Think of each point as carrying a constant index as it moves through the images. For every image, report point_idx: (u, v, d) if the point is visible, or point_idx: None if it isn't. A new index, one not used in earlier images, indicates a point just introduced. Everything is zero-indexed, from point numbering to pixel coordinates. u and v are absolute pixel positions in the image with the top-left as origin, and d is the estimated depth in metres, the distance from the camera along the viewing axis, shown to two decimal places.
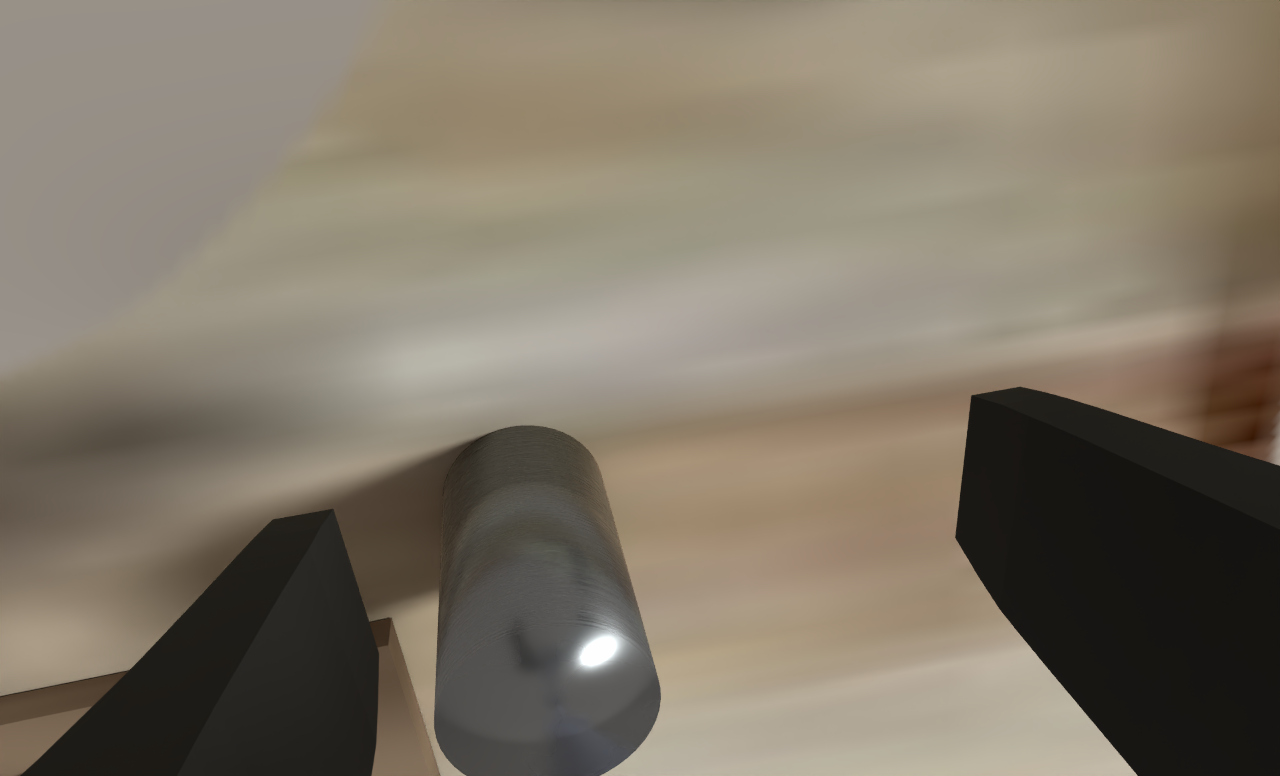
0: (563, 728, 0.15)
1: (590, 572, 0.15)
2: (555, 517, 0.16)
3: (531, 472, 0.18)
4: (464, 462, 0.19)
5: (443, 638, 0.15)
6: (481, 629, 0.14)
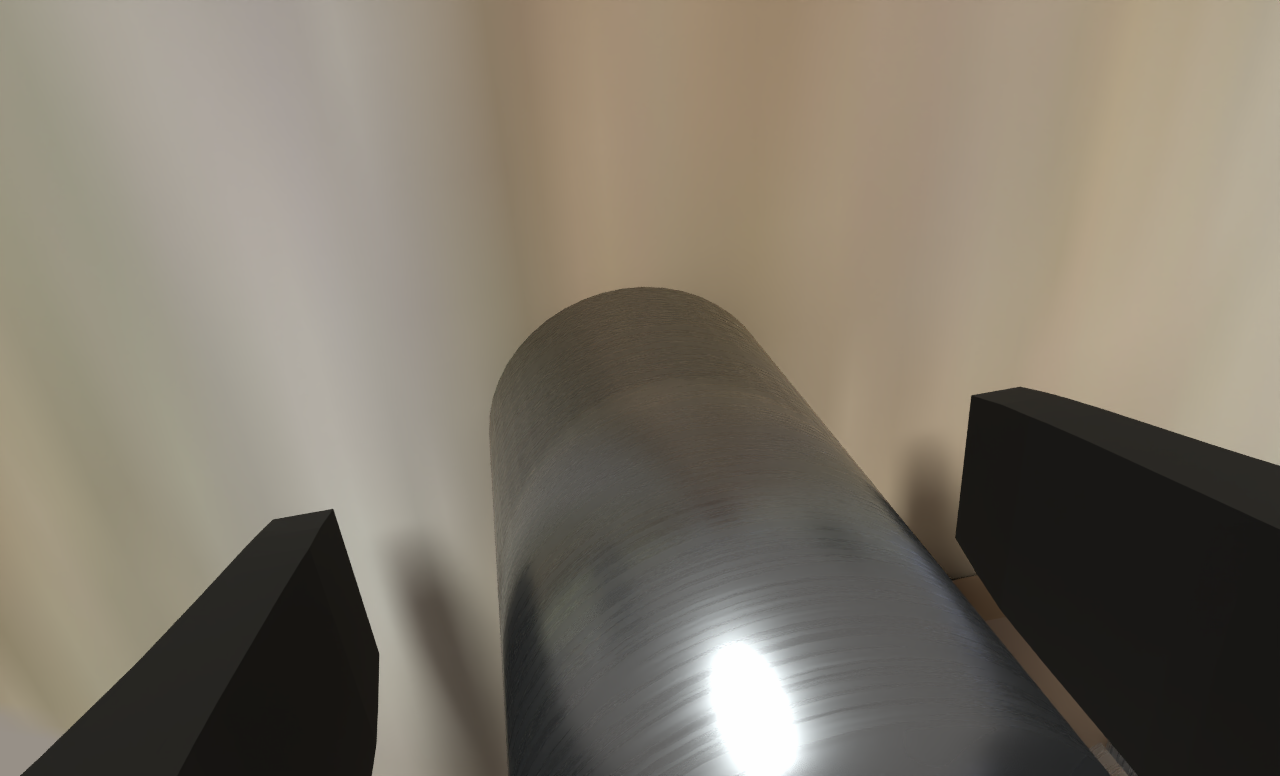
0: None
1: (536, 693, 0.06)
2: (504, 601, 0.07)
3: (495, 522, 0.09)
4: None
5: None
6: None
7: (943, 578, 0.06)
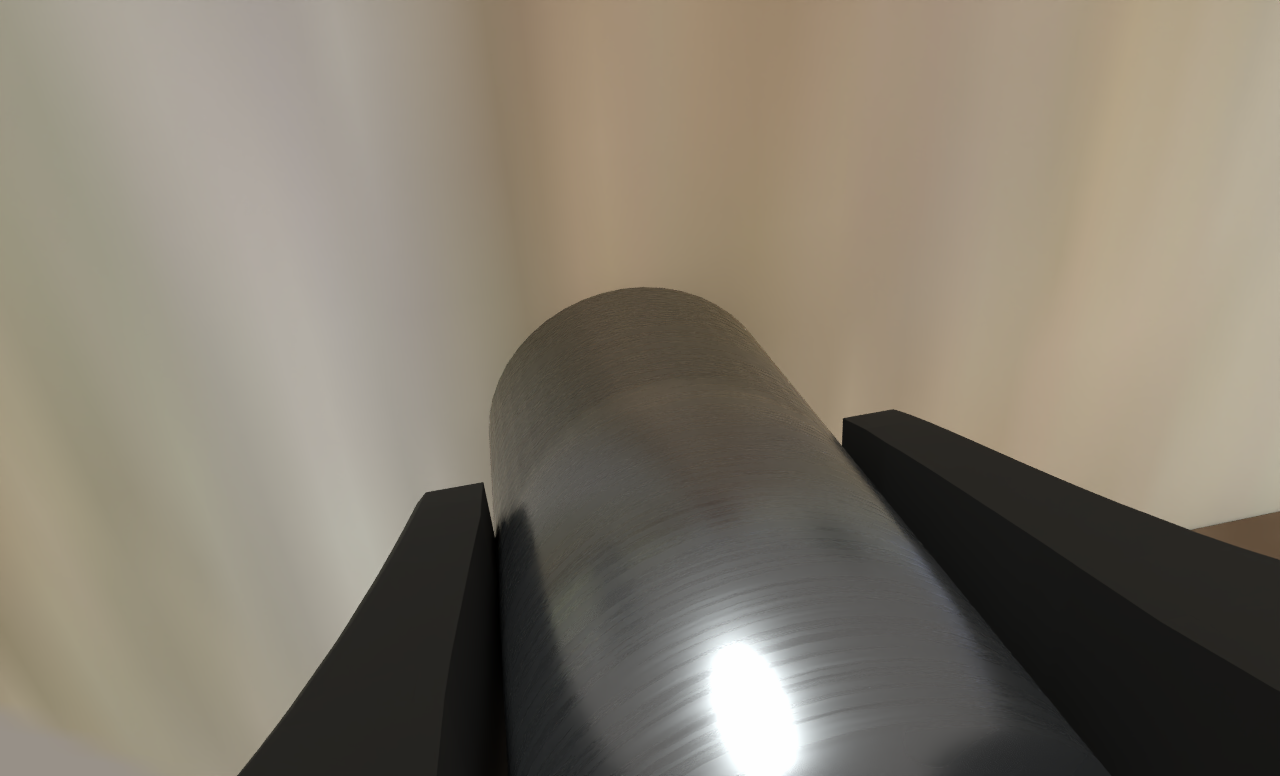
0: None
1: (536, 693, 0.06)
2: (504, 601, 0.07)
3: (494, 522, 0.09)
4: None
5: None
6: None
7: (943, 578, 0.06)
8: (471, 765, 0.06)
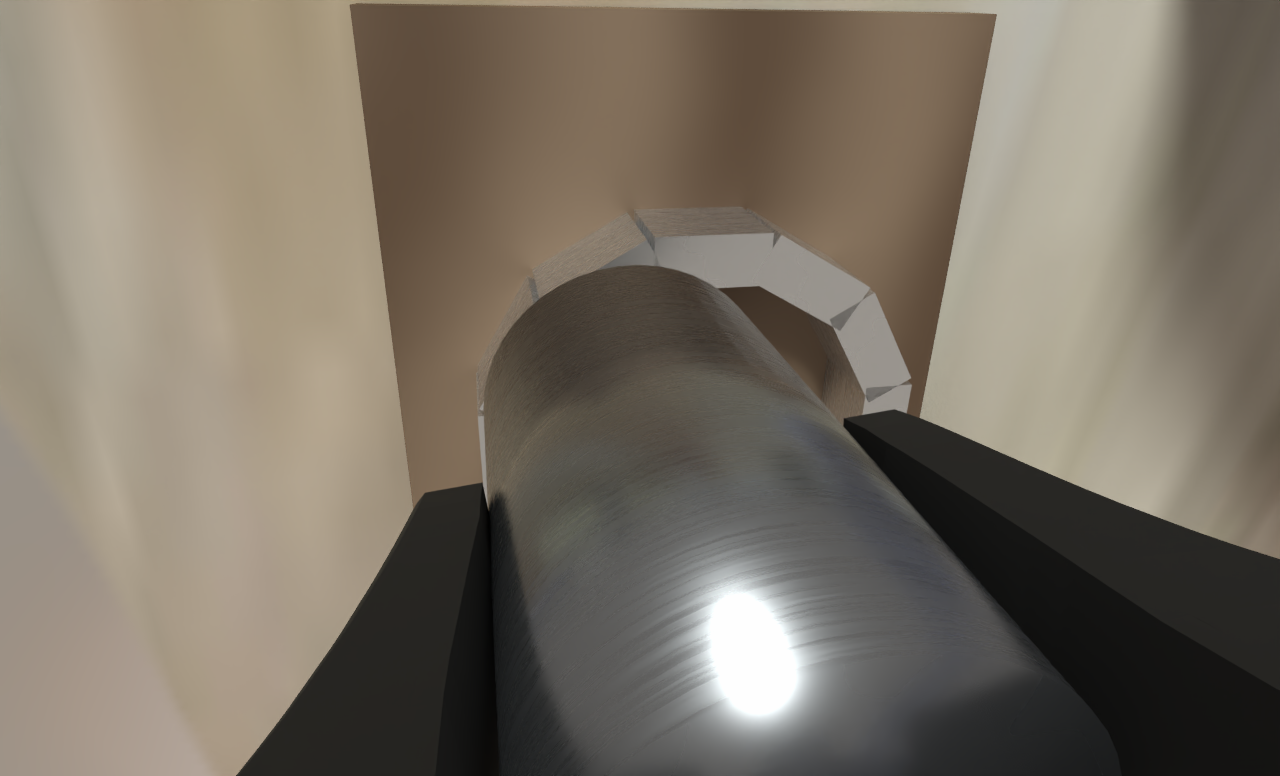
0: None
1: (511, 666, 0.06)
2: (492, 584, 0.07)
3: None
4: None
5: None
6: None
7: (908, 517, 0.06)
8: (470, 766, 0.06)
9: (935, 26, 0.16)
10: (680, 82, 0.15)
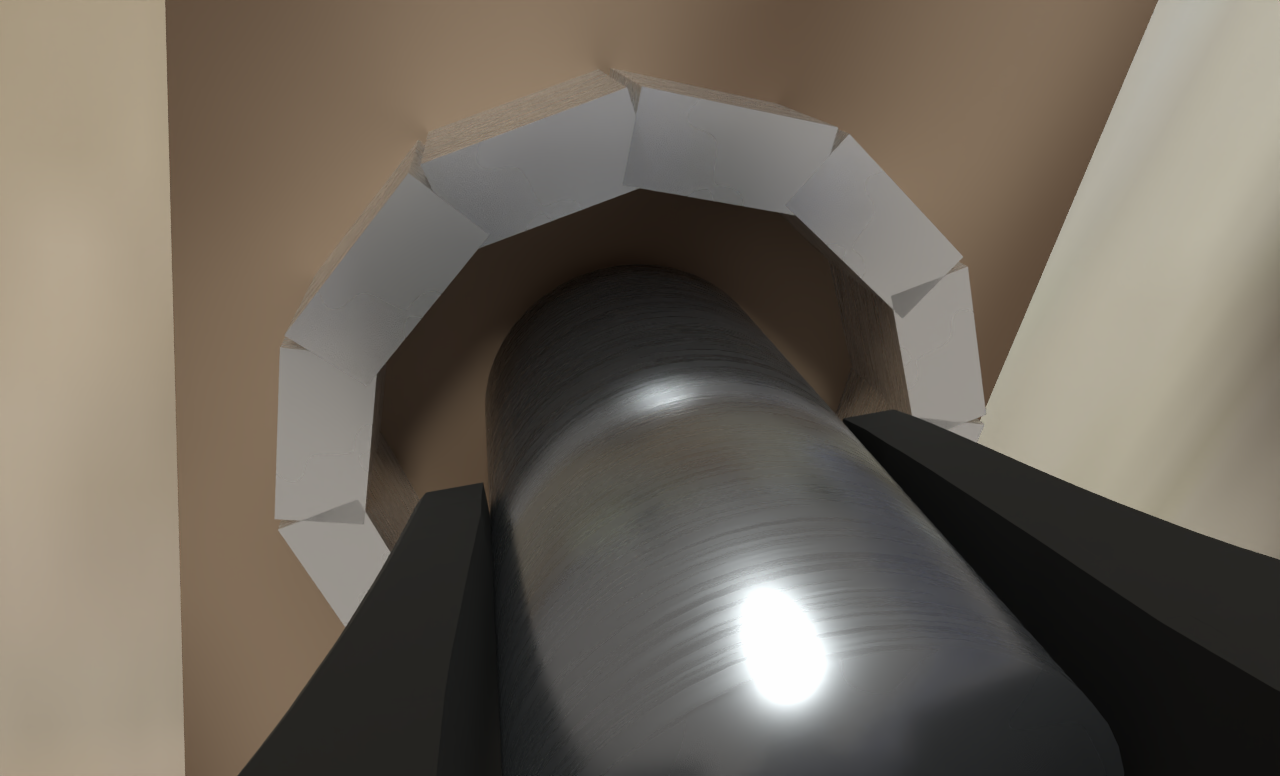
0: None
1: (513, 666, 0.06)
2: (493, 585, 0.07)
3: None
4: None
5: None
6: None
7: (907, 513, 0.06)
8: (471, 765, 0.06)
9: None
10: None
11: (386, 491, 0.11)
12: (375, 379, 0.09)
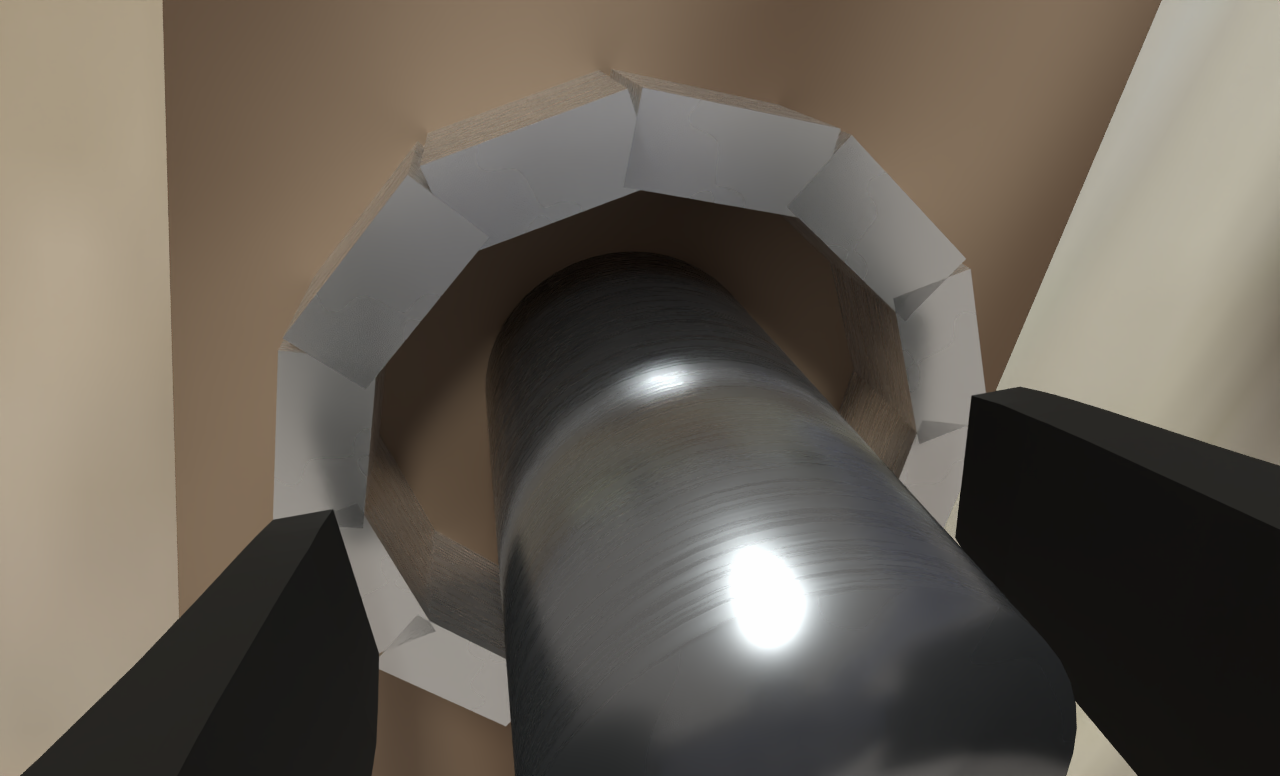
0: None
1: (520, 618, 0.06)
2: (498, 551, 0.08)
3: None
4: None
5: None
6: None
7: (883, 476, 0.06)
8: None
9: None
10: None
11: (386, 494, 0.11)
12: (374, 382, 0.09)
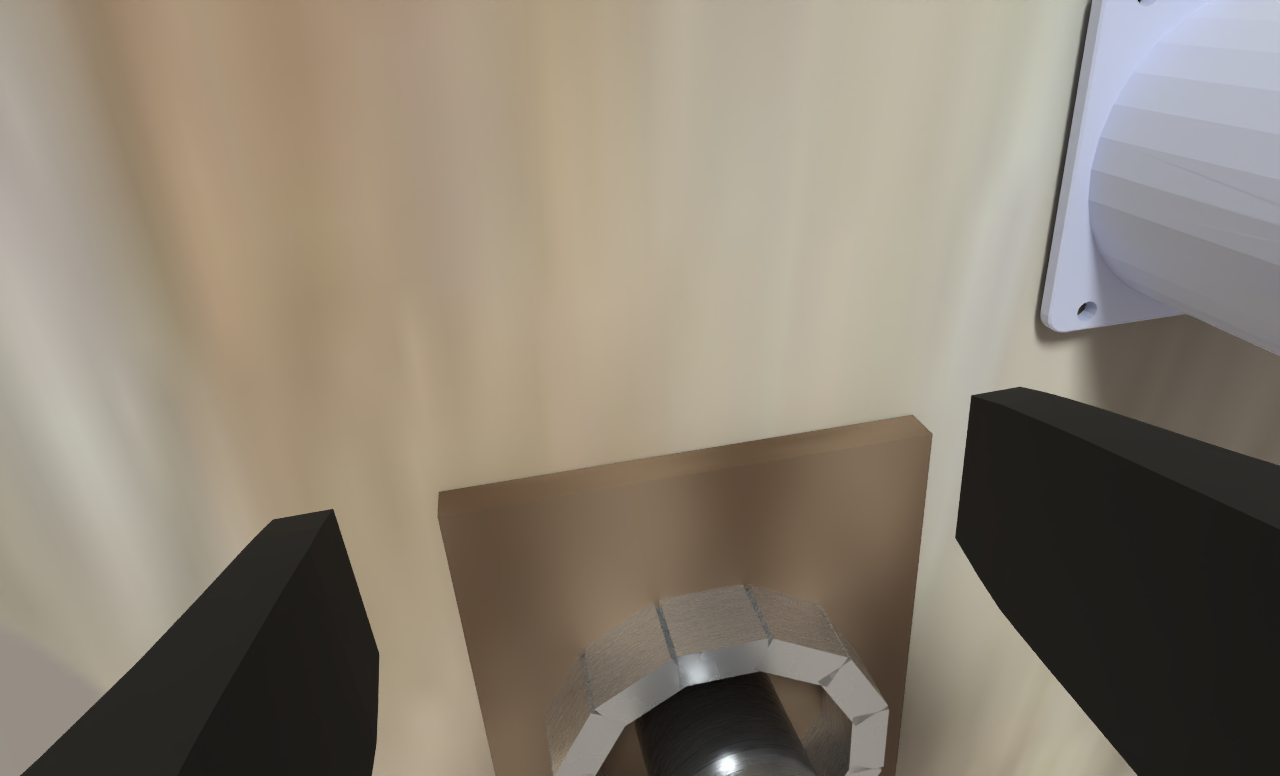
0: None
1: None
2: None
3: None
4: None
5: None
6: None
7: None
8: None
9: (884, 450, 0.20)
10: (687, 517, 0.20)
11: None
12: None
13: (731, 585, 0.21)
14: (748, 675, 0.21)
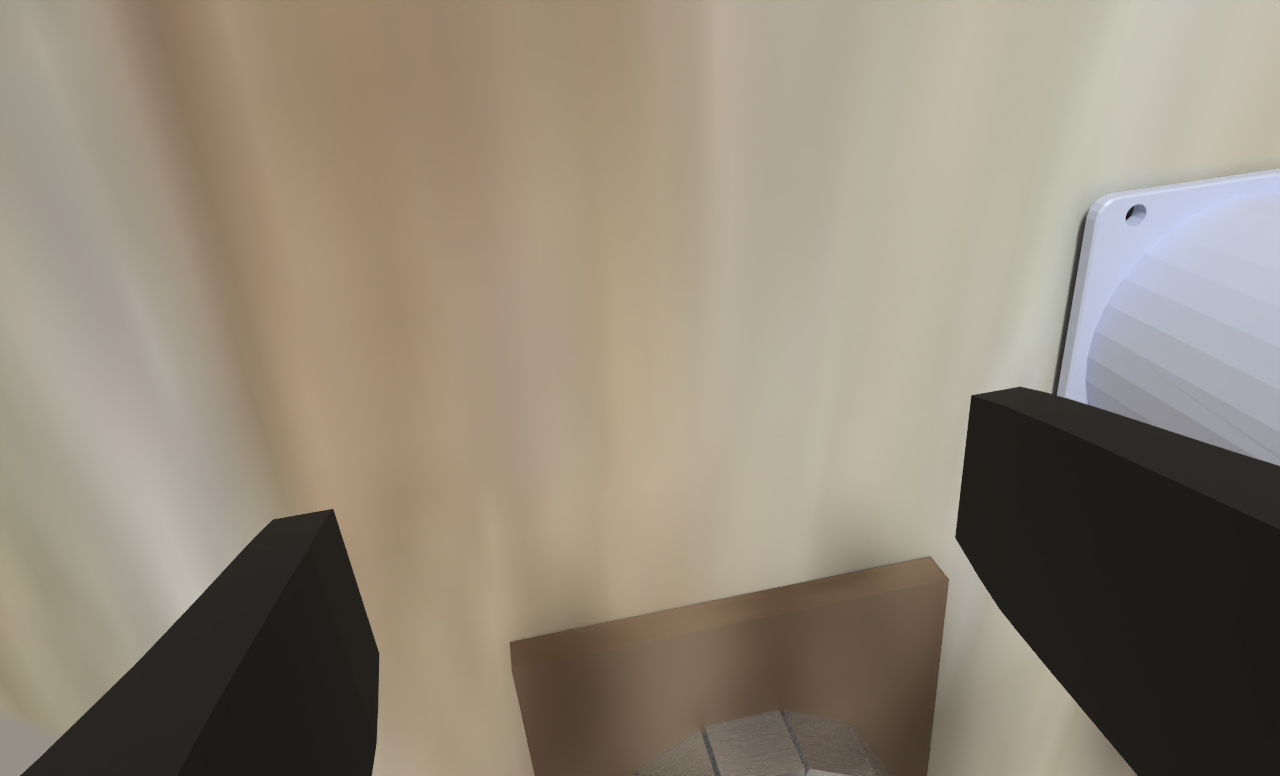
0: None
1: None
2: None
3: None
4: None
5: None
6: None
7: None
8: None
9: (905, 594, 0.22)
10: (730, 659, 0.22)
11: None
12: None
13: (769, 712, 0.23)
14: None
